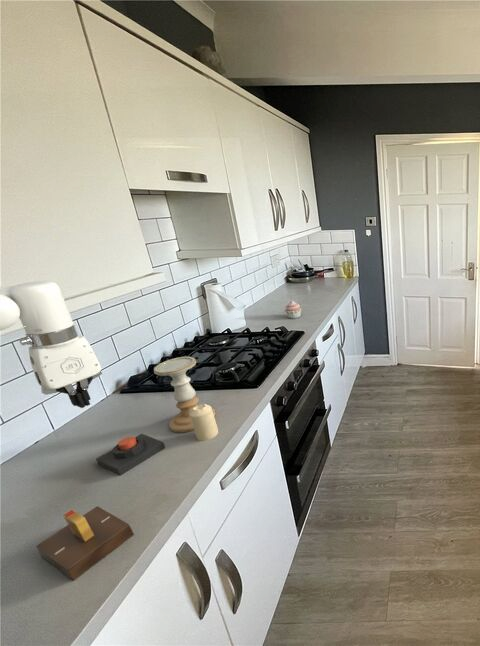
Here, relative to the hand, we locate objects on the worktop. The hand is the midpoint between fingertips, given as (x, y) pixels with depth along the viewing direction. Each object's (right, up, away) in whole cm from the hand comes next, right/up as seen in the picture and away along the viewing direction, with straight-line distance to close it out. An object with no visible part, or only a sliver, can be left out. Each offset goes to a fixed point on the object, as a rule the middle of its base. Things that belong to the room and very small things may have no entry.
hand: (83, 405), depth 85 cm
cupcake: (+7, +23, +115) cm, 117 cm away
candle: (+19, -13, +18) cm, 30 cm away
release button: (+3, -13, +9) cm, 16 cm away
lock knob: (+15, -23, -15) cm, 31 cm away
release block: (+4, -17, +10) cm, 20 cm away
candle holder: (+10, -11, +25) cm, 29 cm away
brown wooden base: (+15, -25, -14) cm, 33 cm away
